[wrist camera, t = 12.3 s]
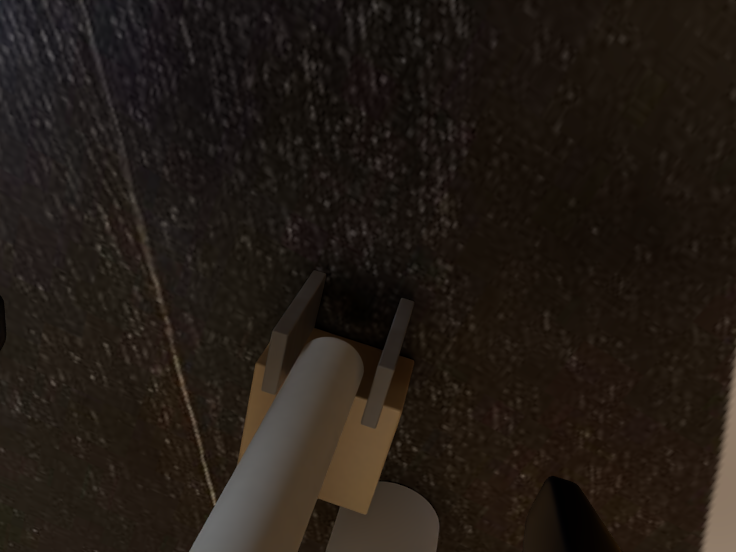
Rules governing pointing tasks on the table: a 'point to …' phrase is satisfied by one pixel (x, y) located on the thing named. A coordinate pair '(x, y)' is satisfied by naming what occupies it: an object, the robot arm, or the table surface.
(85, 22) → the table surface
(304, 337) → the tan block with prongs
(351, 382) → the marker
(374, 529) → the tube
